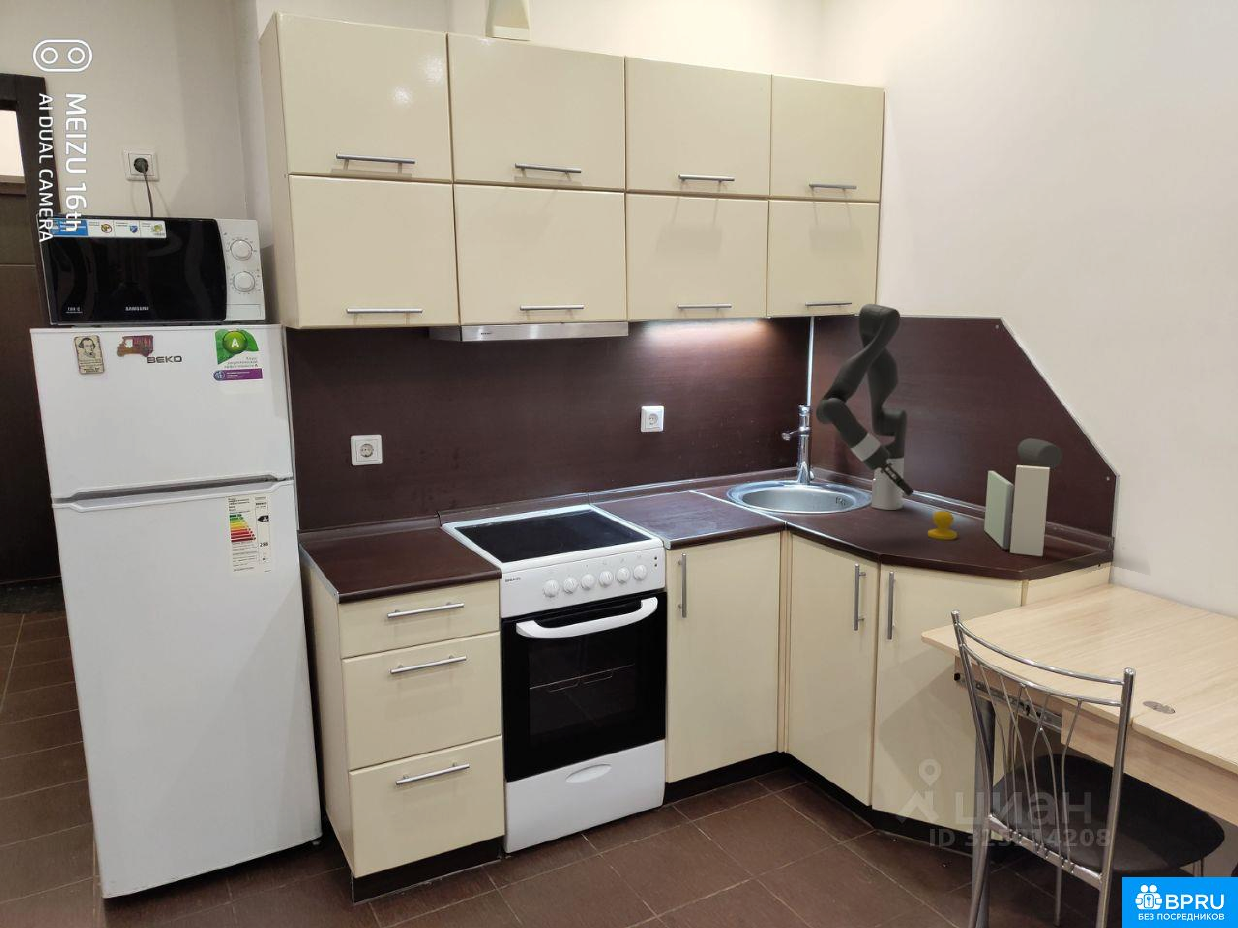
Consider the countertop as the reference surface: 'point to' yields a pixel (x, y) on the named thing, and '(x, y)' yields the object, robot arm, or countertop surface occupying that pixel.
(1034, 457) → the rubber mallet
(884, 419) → the robot arm
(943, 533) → the doorknob
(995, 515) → the door
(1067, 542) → the countertop surface
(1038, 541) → the panel
